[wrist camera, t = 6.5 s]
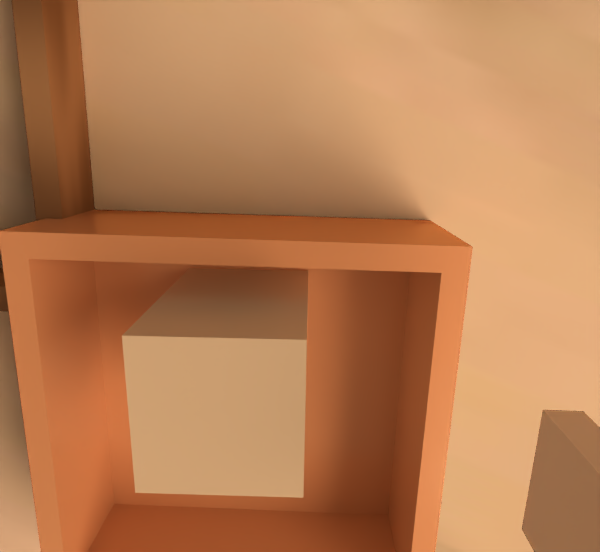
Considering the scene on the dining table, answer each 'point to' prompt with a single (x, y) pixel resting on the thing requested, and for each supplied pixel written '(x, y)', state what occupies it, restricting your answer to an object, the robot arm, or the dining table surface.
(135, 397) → the cream tall block
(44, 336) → the orange storage bin
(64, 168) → the tray
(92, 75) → the dining table surface
